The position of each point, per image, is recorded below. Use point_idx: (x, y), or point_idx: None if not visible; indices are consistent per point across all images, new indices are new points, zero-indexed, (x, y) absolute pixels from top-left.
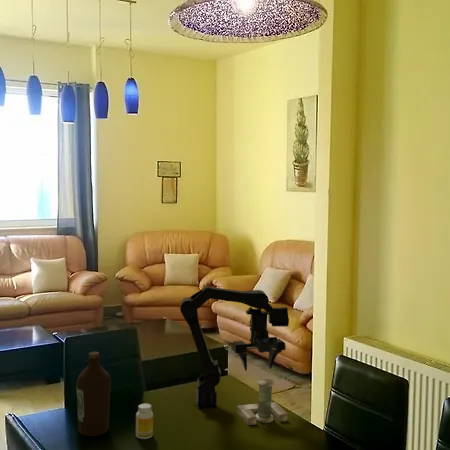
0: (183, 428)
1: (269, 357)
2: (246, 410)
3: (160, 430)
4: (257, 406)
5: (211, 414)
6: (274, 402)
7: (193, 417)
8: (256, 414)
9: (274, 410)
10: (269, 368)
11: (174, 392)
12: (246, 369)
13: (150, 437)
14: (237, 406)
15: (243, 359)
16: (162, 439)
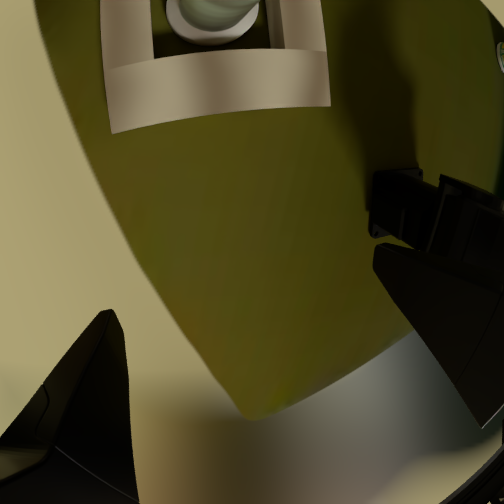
0: (461, 51)
1: (121, 445)
2: (304, 36)
3: (489, 66)
4: (233, 72)
5: (399, 115)
6: (118, 126)
7: (440, 109)
8: (248, 25)
9: (150, 19)
10: (118, 321)
11: None
12: (386, 247)
13: (497, 45)
14: (328, 105)
15: (501, 274)
16: (485, 24)
